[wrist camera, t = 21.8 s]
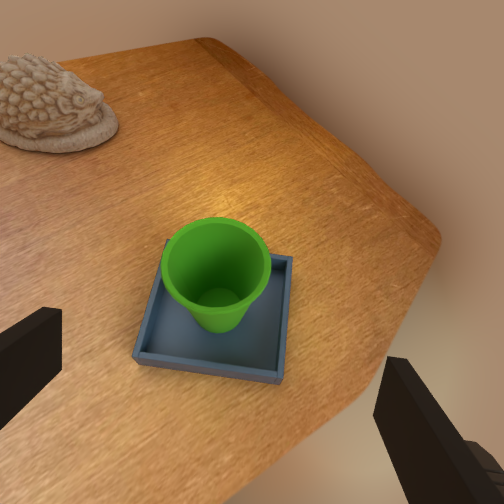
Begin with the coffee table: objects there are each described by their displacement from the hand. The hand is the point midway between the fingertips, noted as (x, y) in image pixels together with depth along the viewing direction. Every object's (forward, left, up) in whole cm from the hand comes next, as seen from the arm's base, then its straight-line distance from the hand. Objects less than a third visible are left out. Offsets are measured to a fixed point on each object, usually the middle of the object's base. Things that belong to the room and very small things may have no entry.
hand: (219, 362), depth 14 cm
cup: (+2, -11, -22) cm, 25 cm away
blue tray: (+2, -11, -22) cm, 25 cm away
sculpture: (+30, -36, -23) cm, 52 cm away
